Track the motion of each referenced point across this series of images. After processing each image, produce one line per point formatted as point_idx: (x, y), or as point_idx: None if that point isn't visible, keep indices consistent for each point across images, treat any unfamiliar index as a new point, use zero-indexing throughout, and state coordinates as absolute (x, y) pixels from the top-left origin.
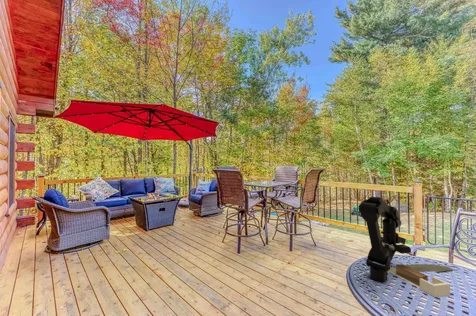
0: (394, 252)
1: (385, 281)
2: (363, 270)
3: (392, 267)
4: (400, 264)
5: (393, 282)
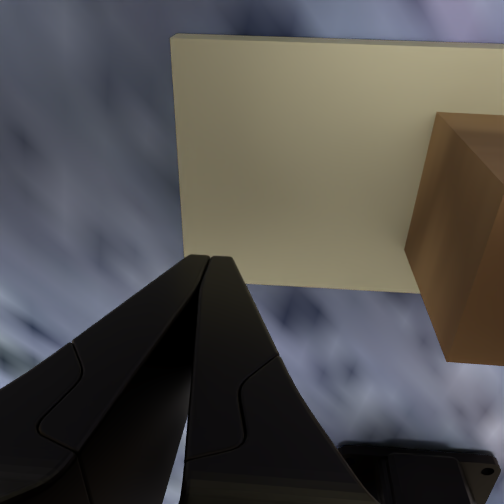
0: (323, 471)
1: (473, 494)
2: None
3: (187, 81)
4: (490, 256)
5: (498, 406)
